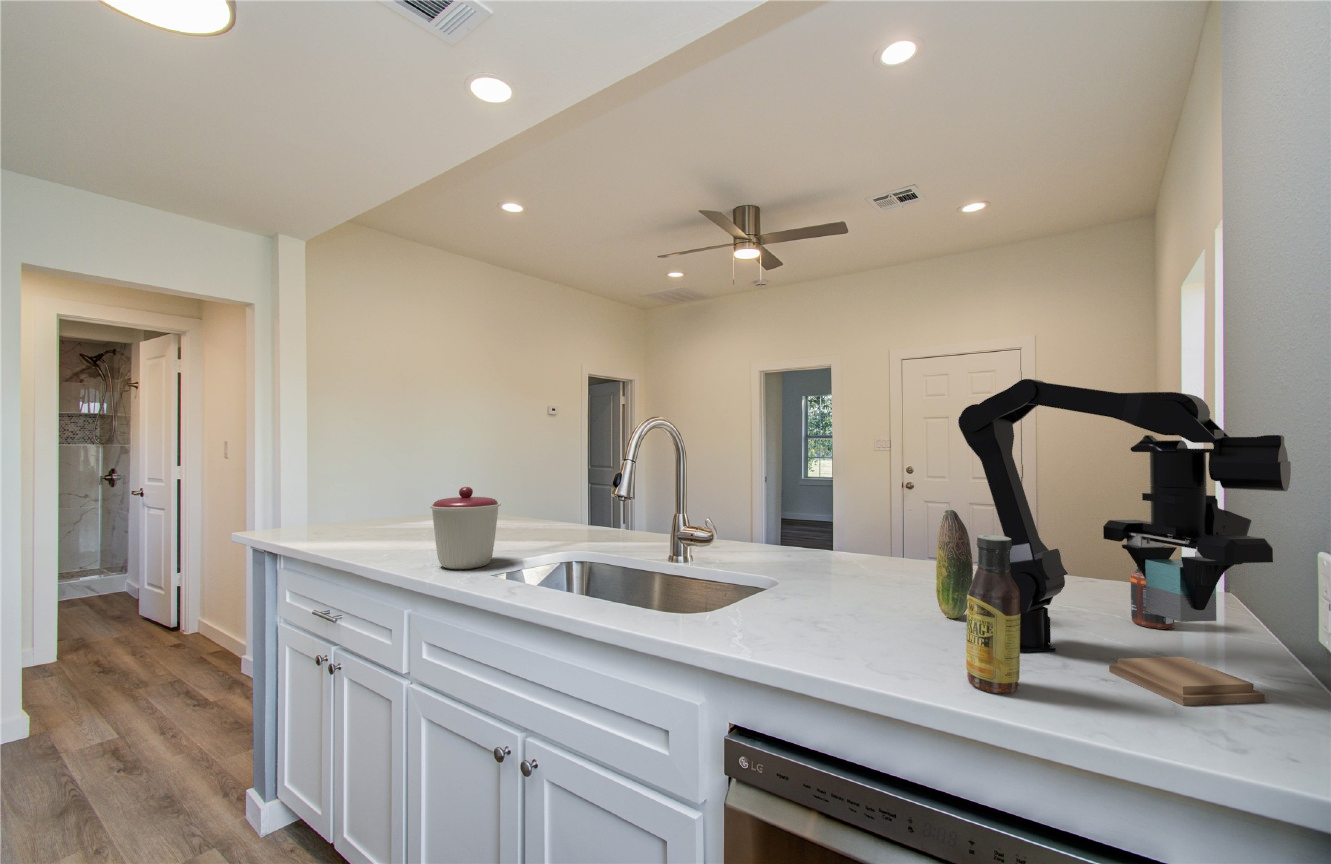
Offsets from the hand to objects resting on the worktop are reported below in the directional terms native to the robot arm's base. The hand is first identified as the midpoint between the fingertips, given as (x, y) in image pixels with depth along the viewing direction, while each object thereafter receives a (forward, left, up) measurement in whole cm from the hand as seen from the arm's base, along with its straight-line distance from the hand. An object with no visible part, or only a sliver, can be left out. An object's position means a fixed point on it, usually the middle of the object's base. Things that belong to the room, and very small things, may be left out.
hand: (1179, 604), depth 79 cm
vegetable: (-12, +33, -11) cm, 37 cm away
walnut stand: (0, 0, -11) cm, 11 cm away
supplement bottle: (+20, +25, -11) cm, 34 cm away
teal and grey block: (0, 0, -2) cm, 2 cm away
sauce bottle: (-25, +2, -11) cm, 27 cm away
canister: (-114, +91, -11) cm, 146 cm away
